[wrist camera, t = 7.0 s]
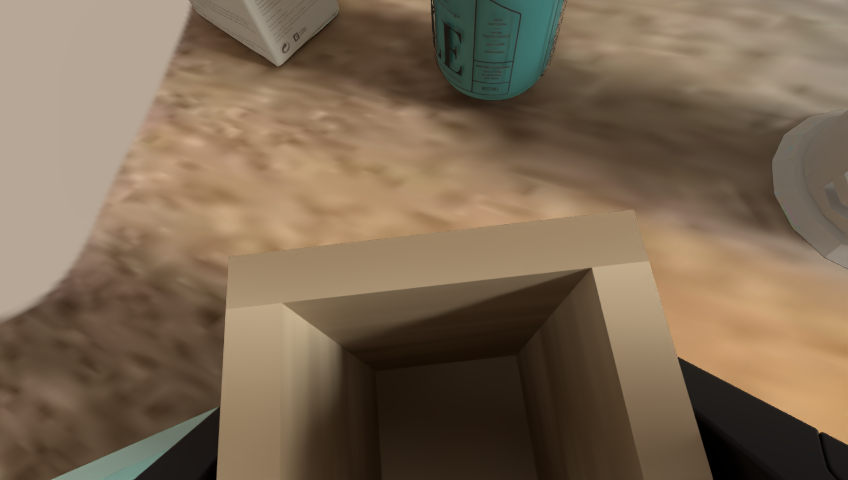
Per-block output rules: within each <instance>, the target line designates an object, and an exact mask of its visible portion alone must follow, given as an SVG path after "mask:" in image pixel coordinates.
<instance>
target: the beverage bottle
mask: <svg viewBox="0 0 848 480" xmlns="http://www.w3.org/2000/svg"><path fill="white" fill-rule="evenodd" d="M565 1H566V0H565ZM565 1H564V0H433V5H434V7H433V5H432V0H431V15H432V31H433V39H434V40H433V41H434V42H433V43H434V47H435V37H436V47H437V51H436V52H437V58H436V59H438V60H437V61H438V63H439V66H440V68H441V70H442V71H441V70H440V71H441V72H442V73H443V74H444V76H445V78H446V79H447V80H448V82H449V83H450V84H451V85H452V86H453V87H454V88H456V89H457V90H458V91H460V92H462V93H464V94H466V95H468V96H471V97H474V98H478V99H483V100H502V99H507V98H511V97H514V96H517V95H519V94H521V93H523V92H525V91H526V90H528V89H529V88H530V87H532V86H533V85H534V84H535V83H536V82H537V80H538V79H539V78H540V76H543V75H544V74H543V75H542V73H543V72H544V70H545V68H546V66H547V64H548V61H551V60H549V58H550V57H553V56H550V55H551V51H552V49H553V48H554V47H553V48H552V46H553V45H554V44H553V43H554V41H555V40H556V39H555V40H554V38H555V36H556V30H557V27H558V25H559V24H558V22H559V18H560V17H561V16H563V15H561V16H560V14H561V13H562V12H563V10H565V9H563V10H562V6H563V2H565ZM566 3H567V2H566ZM565 6H566V5H565ZM433 8H434V11H433ZM564 8H565V7H564ZM561 10H562V12H561ZM433 14H435V30H436V36H435V33H434V32H435V31H434V17H433ZM562 14H564V13H562ZM561 18H562V19H563V17H561ZM562 19H561V20H562ZM561 22H562V21H561ZM558 28H559V27H558ZM559 29H560V28H559ZM558 31H560V30H558ZM557 33H558V32H557ZM557 36H558V35H557ZM556 38H557V37H556ZM555 42H556V41H555ZM556 43H557V42H556ZM556 43H555V45H556ZM554 49H555V48H554ZM554 49H553V50H554ZM435 50H436V48H435ZM552 52H554V51H552ZM434 53H435V52H434ZM435 56H436V55H435ZM436 59H435V60H436ZM551 59H552V58H551ZM436 63H437V62H436ZM549 63H550V62H549ZM550 64H551V63H550ZM437 65H438V64H437ZM548 65H549V64H548ZM439 66H438V67H439ZM549 66H550V65H549ZM440 68H439V69H440ZM548 68H549V67H548ZM546 71H547V70H546ZM546 71H545V72H546Z"/></svg>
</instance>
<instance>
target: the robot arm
mask: <svg viewBox="0 0 848 480" xmlns="http://www.w3.org/2000/svg"><path fill="white" fill-rule="evenodd" d="M677 358H678V361H679V365H680V368H681V371H682V375H683V378H684V382H685V385H686V388H687V392H688V395H689V399H690V402H691V405H692V409H693V412H694V416H695V419H696V422H697V426H698V429H699V433H700V436H701V439H702V443H703V446H704V450H705V453H706V456H707V460H708V463H709V467H710V470H711V473H712V477H713V480H848V445H847V444H845V443H843V442H841V441H839V440H837V439H835V438H833V437H831V436H829V435H828V434H826V433H823V432H821V433H819V432H818V430H817V429H816V428H814V427H812V426H810V425H808V424H806V423H804V422H802V421H800V420H798V419H796V418H795V417H793V416H791V415H789V414H787V413H785V412H783V411H781V410H779V409H777V408H775V407H773V406H771V405H770V404H768V403H766V402H764V401H762V400H760V399H758V398H756V397H754V396H752V395H750V394H748V393H746V392H745V391H743V390H741V389H739V388H737V387H735V386H733V385H731V384H729V383H727V382H725V381H723V380H721V379H720V378H718V377H716V376H714V375H712V374H710V373H708V372H706V371H704V370H702V369H700V368H698V367H696V366H695V365H693V364H691V363H689V362H687V361H685V360H683V359H681V358H679V357H677ZM220 407H221V405H220V406H219V407H218V408H217V409H216V410H215V411H213V412H212V413H211V414H210V415H209V416H208V417H206V418H205V419H204V420H203V421H202V422H200V423H199V424H198V425H197V426H196V427H195V428H193V429H192V430H191V431H190V432H189V433H188V434H186V435H185V436H184V437H183V438H182V439H181V440H179V441H178V442H177V443H176V444H175V445H174V446H172V447H171V448H170V449H169V450H168V451H166V452H165V453H164V454H163V455H162V456H161V457H159V458H158V459H157V460H156V461H155V462H154V463H152V464H151V465H150V466H149V467H148V468H147V469H145V470H144V471H143V472H142V473H141V474H139V475H138V476H137V477H136V478H135V479H134V480H217V462H218V444H219V426H220Z"/></svg>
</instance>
